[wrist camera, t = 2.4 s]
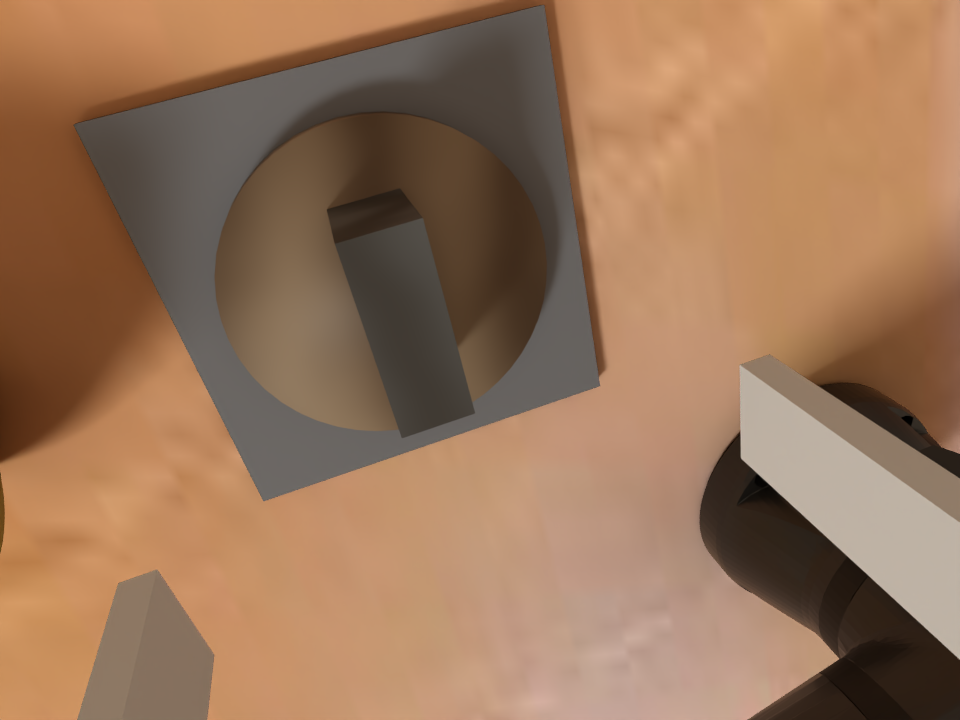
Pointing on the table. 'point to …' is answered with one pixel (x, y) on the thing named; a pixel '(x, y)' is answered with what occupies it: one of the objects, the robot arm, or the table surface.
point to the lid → (380, 272)
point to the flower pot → (1, 514)
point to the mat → (292, 109)
